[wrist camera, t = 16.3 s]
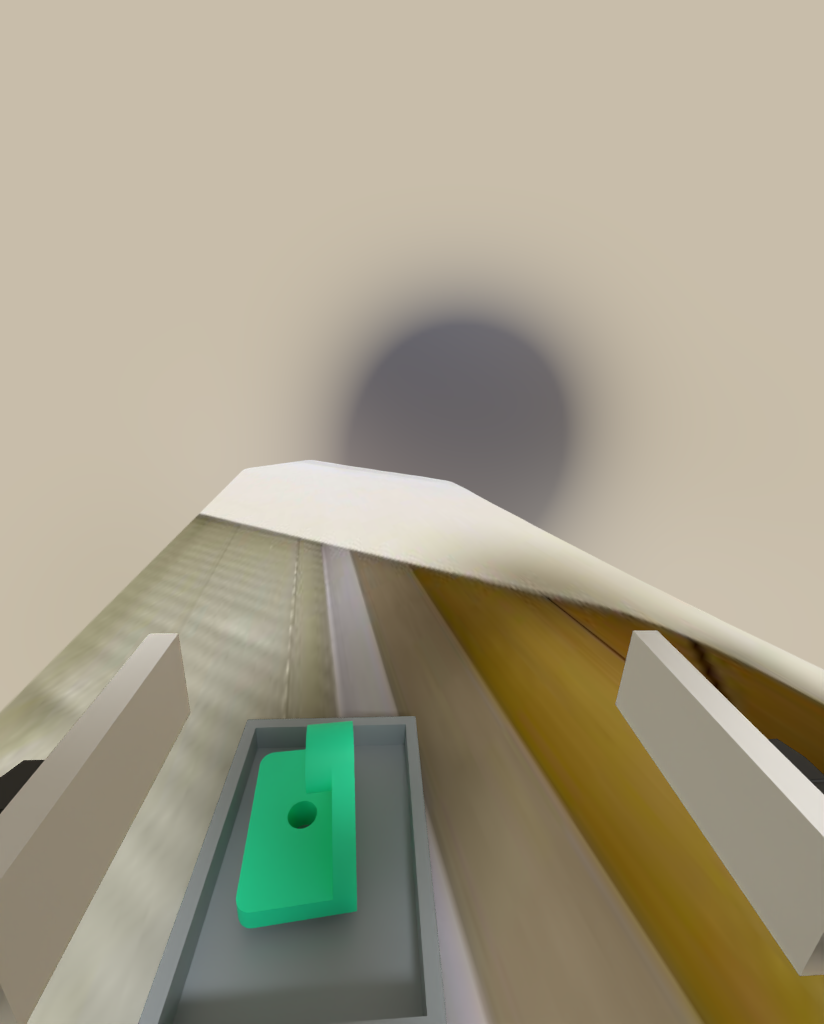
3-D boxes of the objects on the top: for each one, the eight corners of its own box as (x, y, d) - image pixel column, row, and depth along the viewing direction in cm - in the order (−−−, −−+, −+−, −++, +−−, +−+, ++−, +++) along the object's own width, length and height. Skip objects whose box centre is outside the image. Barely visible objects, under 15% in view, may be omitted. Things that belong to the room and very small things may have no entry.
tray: (413, 743, 45) (415, 716, 44) (444, 1077, 24) (448, 1041, 23) (250, 748, 44) (247, 719, 42) (133, 1104, 23) (122, 1067, 22)
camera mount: (263, 776, 40) (255, 681, 36) (350, 766, 41) (350, 674, 37) (236, 942, 28) (220, 826, 25) (356, 922, 30) (357, 809, 26)
